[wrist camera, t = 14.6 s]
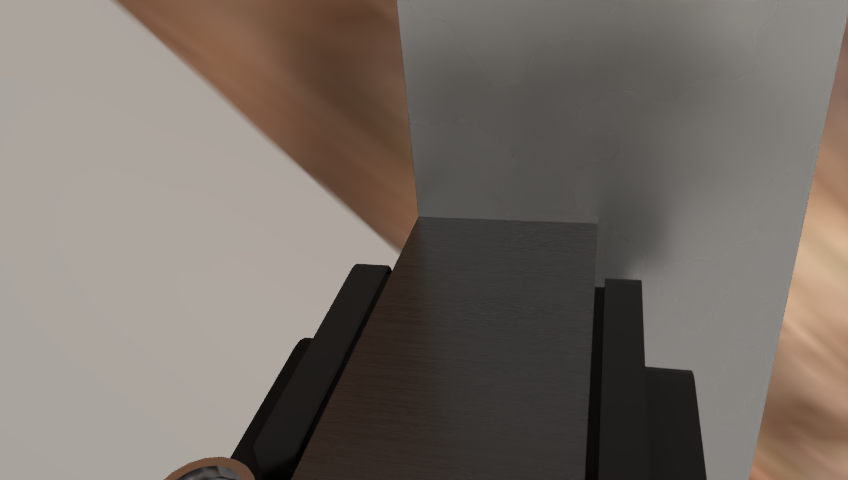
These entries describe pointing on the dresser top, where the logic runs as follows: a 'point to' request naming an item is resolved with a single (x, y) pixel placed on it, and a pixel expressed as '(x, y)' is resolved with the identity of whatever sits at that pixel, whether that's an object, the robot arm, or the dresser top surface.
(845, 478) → the dresser top surface
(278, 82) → the dresser top surface
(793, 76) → the scraper
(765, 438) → the dresser top surface
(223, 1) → the dresser top surface
